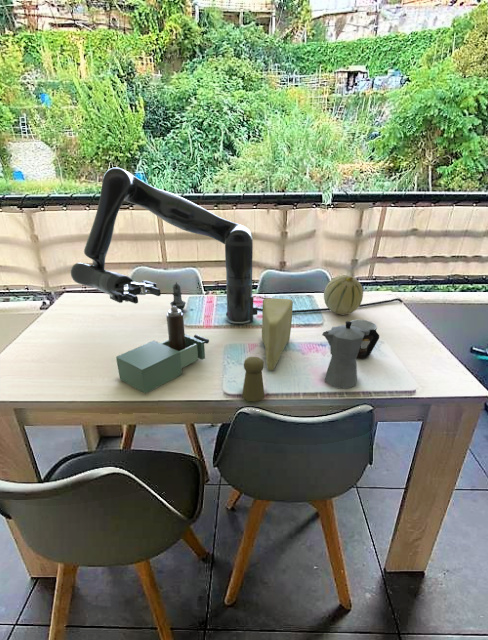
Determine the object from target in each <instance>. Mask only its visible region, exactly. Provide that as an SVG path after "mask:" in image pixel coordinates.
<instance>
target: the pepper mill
mask: <svg viewBox="0 0 488 640" xmlns="http://www.w3.org/2000/svg"><path fill="white" fill-rule="evenodd" d="M165 316H166V327H167V337H168V340H169V347H170V348H172V349H175V350H177V351H181V350H183V349H185V348H186V344H185V334H186V333H185V320H184V319H185V318H184V313H182V312H181V310H180V309H178V308H177V307H176V306H173V307H172V306H171V308H170V309H168V310H167V313H166V315H165Z"/></svg>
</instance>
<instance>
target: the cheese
mask: <svg viewBox="0 0 488 640" xmlns="http://www.w3.org/2000/svg"><path fill="white" fill-rule="evenodd" d="M293 304H294V302H293V300H292V299H290V298H275V297H274V298H273V297H267V298H266V297H265V298H263V299H262V309H263V310H262V311H261V312H262V313H261V314H262V315H261V316H262V317H261V318H262V319H261V324H262V325H261V340H262V342H263V346H264V349H265V361H266V362H265V363H266V367H267V370H268V371H274V370H275V368H276V367H277V364H278V362H279V359H280V357H281V355H282V353H283V352H284V350H285V348H286V346H287V344H288V343H289V341H290V339H291V332H292V331H291V330H292V322H293V313H292V311H293Z"/></svg>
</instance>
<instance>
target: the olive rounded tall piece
mask: <svg viewBox="0 0 488 640" xmlns="http://www.w3.org/2000/svg"><path fill="white" fill-rule="evenodd" d="M264 367H265V363H264V361H263V358H261V357H258V356H249V357H247V358H245V360H244V361H243V369H244V371H245V374H244V379H243V387H242V394H241V397H242V398H243V400H245V401H248V402H254V403H255V402H259V401H262V400H263V399H264V398H265V387H264V380H263V370H264Z"/></svg>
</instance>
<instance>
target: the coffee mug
mask: <svg viewBox="0 0 488 640" xmlns="http://www.w3.org/2000/svg"><path fill="white" fill-rule="evenodd" d="M350 322H352V324H351V326H354V327H357V328H359V329H361V330H362V329H368V330H371V329H374V330H376V331H377V328H378V325H377V324H376V323H375V322H373V321H370V320H366V319H352V320H350ZM372 338H373V336H369V337H363V340H362V343H361V346H360V349H359V352H358V355H357V358H356V360H364V359H367V358H368V357H362V356H361V354H365V353H366V352H367V348H368V346H369V345H370V342H371V340H372Z"/></svg>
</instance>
